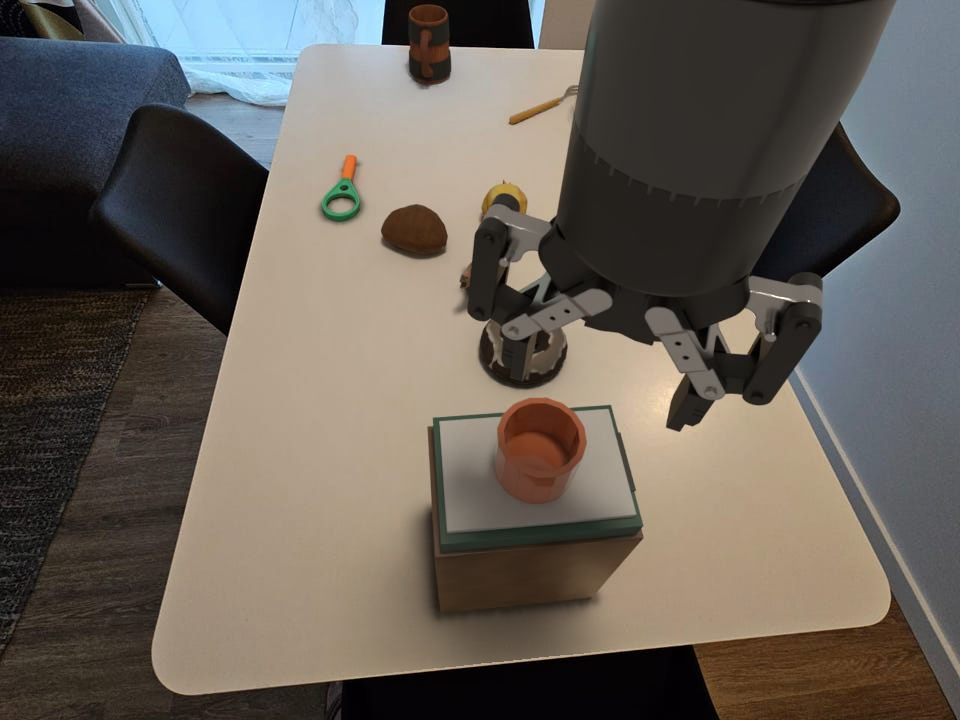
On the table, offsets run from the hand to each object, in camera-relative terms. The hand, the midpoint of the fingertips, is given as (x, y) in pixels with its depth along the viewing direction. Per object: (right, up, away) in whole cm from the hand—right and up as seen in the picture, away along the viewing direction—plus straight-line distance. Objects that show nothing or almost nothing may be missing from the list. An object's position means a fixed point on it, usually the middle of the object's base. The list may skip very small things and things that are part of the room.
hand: (596, 391), depth 31 cm
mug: (-17, +59, +86) cm, 106 cm away
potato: (-16, +20, +58) cm, 64 cm away
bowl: (-2, -6, +13) cm, 14 cm away
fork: (+7, +51, +81) cm, 96 cm away
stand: (-3, -19, +31) cm, 37 cm away
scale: (-2, -8, +15) cm, 17 cm away
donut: (-1, +3, +47) cm, 47 cm away
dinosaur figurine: (-6, +13, +54) cm, 56 cm away
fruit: (-3, +24, +62) cm, 67 cm away
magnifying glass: (-29, +30, +65) cm, 77 cm away
